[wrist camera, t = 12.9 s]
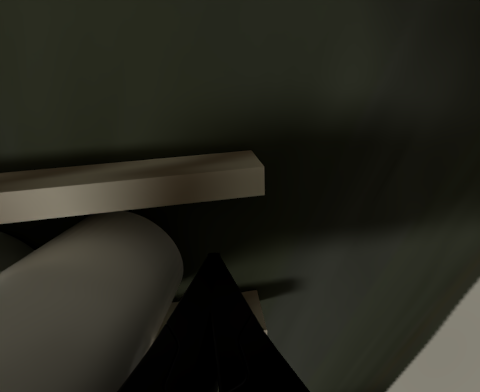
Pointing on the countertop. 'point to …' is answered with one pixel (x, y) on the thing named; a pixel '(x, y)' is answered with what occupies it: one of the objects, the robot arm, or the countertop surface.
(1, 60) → the countertop surface
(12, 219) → the lane
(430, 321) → the countertop surface
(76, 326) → the jar
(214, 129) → the countertop surface
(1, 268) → the jar in lane
